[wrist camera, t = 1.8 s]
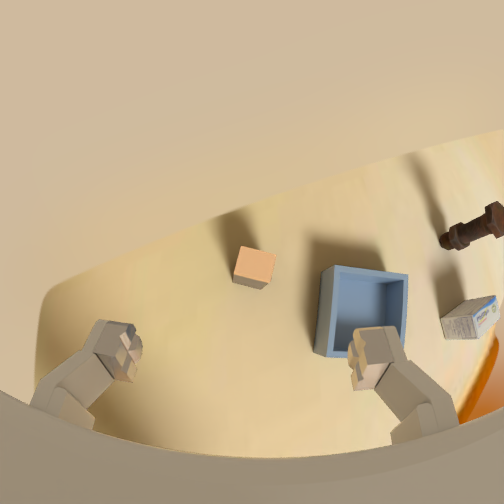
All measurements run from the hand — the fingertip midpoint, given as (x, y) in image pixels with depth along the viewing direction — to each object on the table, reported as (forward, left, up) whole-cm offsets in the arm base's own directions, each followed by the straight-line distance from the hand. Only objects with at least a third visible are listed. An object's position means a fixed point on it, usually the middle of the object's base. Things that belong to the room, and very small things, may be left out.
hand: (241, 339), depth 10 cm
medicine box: (+3, -40, -29) cm, 49 cm away
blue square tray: (+3, -18, -29) cm, 34 cm away
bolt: (+17, -37, -29) cm, 50 cm away
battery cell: (+7, -2, -29) cm, 30 cm away
